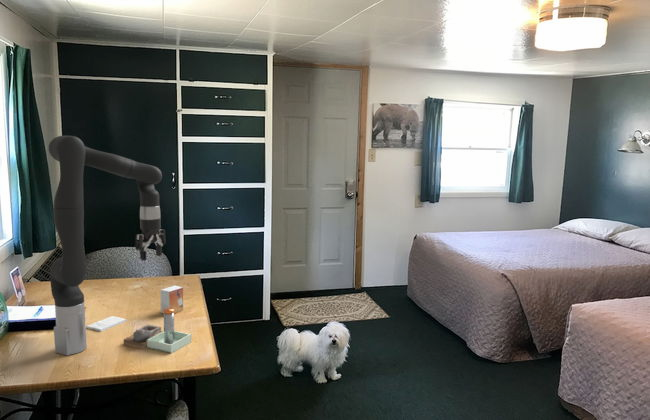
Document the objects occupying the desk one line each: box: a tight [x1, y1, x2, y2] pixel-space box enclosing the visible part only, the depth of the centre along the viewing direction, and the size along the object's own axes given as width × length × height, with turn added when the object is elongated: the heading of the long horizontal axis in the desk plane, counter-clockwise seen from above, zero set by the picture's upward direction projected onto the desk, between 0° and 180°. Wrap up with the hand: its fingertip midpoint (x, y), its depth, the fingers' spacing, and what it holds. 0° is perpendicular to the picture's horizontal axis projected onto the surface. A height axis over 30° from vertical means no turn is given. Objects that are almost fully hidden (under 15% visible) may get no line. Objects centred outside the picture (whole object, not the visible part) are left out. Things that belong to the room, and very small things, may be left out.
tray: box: [146, 330, 192, 354], centre depth 186 cm, size 11×11×3 cm
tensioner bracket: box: [123, 324, 164, 350], centre depth 189 cm, size 12×9×5 cm
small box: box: [159, 285, 184, 315], centre depth 219 cm, size 8×6×10 cm
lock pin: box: [162, 308, 175, 344], centre depth 185 cm, size 4×4×13 cm
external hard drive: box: [86, 315, 127, 333], centre depth 204 cm, size 2×8×12 cm
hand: (151, 257), depth 200 cm, fingers open, 8 cm apart
